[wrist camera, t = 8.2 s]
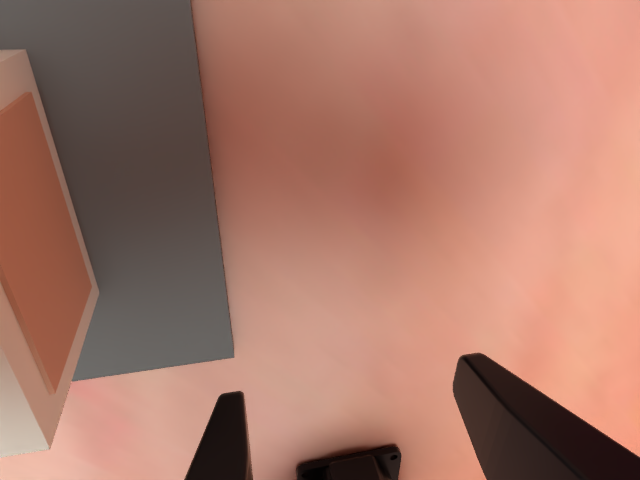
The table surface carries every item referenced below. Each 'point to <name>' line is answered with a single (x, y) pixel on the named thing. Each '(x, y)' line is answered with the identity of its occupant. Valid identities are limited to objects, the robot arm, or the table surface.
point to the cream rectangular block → (36, 269)
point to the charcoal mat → (132, 174)
